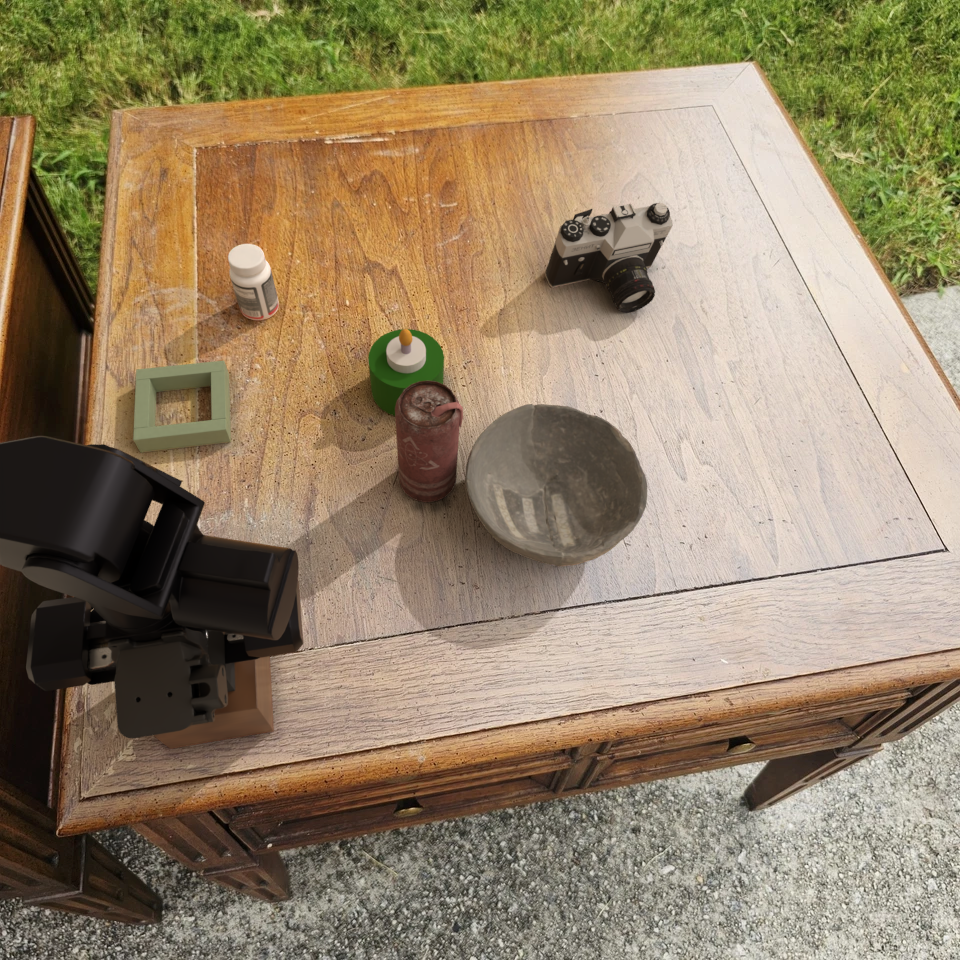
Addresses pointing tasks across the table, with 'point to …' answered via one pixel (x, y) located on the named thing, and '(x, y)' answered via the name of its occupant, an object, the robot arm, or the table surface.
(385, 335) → the candle
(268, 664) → the block
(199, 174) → the table surface
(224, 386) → the green square frame
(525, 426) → the bowl
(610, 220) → the camera
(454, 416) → the can
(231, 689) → the black block
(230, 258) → the pill bottle
